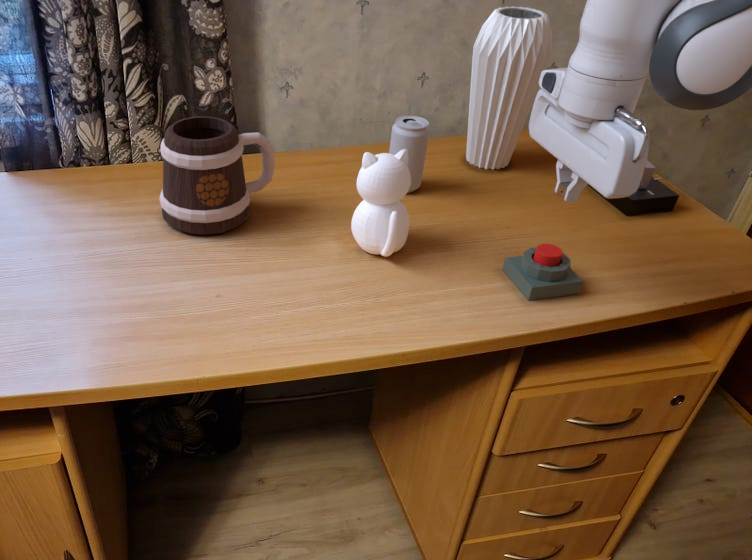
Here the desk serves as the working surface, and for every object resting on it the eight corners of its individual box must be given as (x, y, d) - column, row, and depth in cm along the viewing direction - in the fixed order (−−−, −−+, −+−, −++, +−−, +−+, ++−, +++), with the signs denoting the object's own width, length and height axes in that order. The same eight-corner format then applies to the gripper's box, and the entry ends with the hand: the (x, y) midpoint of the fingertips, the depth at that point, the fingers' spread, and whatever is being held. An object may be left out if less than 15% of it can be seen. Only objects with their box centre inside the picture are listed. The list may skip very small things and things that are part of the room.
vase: (437, 158, 132) (463, 10, 115) (481, 141, 138) (512, -2, 121) (493, 182, 124) (529, 28, 107) (536, 163, 130) (578, 14, 113)
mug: (176, 245, 107) (167, 154, 97) (150, 203, 117) (140, 117, 107) (291, 222, 113) (294, 134, 103) (257, 183, 123) (257, 100, 113)
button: (564, 265, 97) (567, 255, 95) (541, 268, 96) (544, 258, 95) (551, 252, 99) (554, 242, 98) (528, 255, 99) (531, 244, 97)
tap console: (675, 210, 117) (683, 194, 115) (623, 216, 115) (629, 199, 113) (633, 180, 126) (639, 163, 123) (584, 184, 124) (589, 168, 122)
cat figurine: (392, 224, 112) (405, 136, 103) (421, 265, 103) (437, 172, 93) (340, 230, 111) (348, 141, 101) (364, 271, 102) (375, 178, 92)
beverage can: (407, 175, 126) (416, 111, 118) (427, 190, 122) (438, 124, 114) (378, 182, 124) (385, 117, 116) (397, 197, 120) (407, 131, 112)
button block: (578, 293, 98) (587, 270, 95) (528, 300, 96) (535, 276, 94) (550, 264, 104) (557, 241, 101) (502, 270, 102) (508, 247, 100)
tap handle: (647, 189, 116) (656, 166, 113) (637, 189, 116) (647, 166, 113) (631, 173, 121) (640, 151, 118) (622, 174, 121) (631, 151, 118)
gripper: (678, 124, 75) (633, 234, 84) (577, 65, 90) (548, 163, 99) (627, 128, 74) (587, 239, 83) (534, 67, 89) (508, 167, 98)
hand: (565, 197), depth 91 cm, fingers closed
